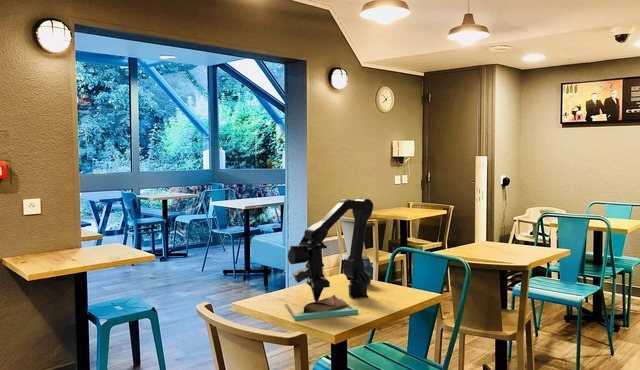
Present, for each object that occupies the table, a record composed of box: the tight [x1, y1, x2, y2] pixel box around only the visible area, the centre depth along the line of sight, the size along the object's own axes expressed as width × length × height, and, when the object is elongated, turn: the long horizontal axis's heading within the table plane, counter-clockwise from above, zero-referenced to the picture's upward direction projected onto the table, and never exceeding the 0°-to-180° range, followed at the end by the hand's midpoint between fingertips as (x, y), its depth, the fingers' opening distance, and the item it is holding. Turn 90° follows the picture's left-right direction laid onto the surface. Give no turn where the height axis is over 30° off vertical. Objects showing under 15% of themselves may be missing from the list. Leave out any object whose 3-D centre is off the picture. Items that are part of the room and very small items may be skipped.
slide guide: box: [284, 298, 359, 321], centre depth 199 cm, size 23×20×2 cm
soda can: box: [362, 256, 372, 287], centre depth 234 cm, size 7×7×12 cm
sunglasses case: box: [303, 294, 350, 314], centre depth 198 cm, size 18×7×7 cm
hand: (316, 301), depth 205 cm, fingers closed
